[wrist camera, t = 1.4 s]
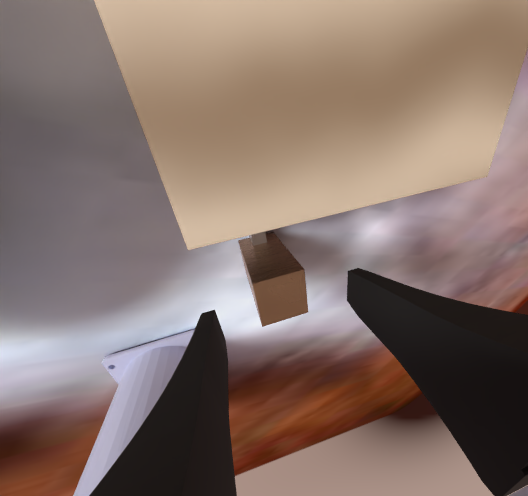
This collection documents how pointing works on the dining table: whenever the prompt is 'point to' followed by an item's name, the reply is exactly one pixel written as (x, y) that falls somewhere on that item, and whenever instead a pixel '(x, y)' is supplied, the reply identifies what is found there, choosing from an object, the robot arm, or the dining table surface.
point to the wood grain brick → (273, 278)
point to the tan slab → (313, 101)
